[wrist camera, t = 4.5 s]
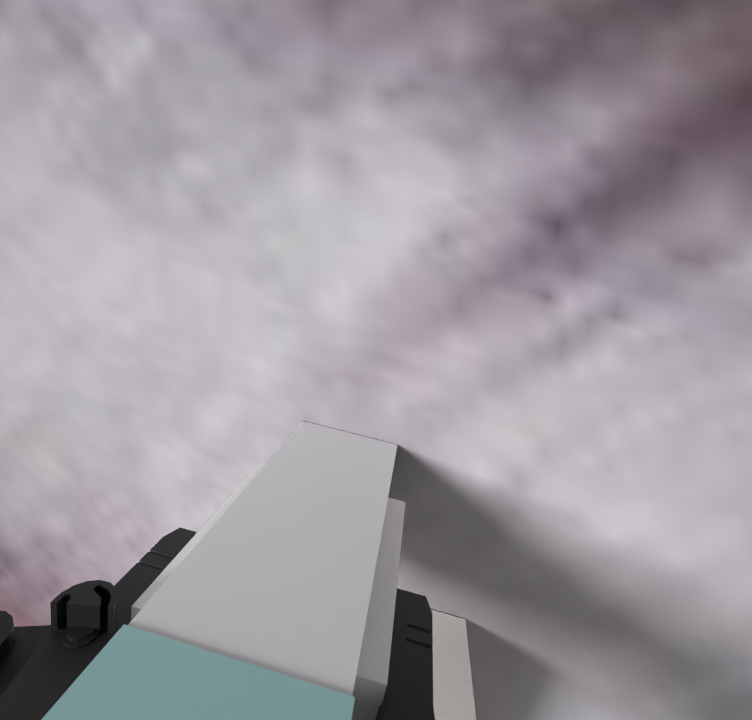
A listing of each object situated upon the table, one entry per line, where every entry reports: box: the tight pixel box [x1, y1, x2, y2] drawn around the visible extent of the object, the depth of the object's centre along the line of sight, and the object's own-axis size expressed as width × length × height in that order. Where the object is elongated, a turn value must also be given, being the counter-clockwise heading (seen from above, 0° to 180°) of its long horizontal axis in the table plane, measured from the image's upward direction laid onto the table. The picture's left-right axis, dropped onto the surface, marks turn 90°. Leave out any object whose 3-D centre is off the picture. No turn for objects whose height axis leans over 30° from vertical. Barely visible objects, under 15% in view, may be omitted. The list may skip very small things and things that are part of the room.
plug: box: [41, 421, 398, 720], centre depth 12 cm, size 5×5×12 cm
